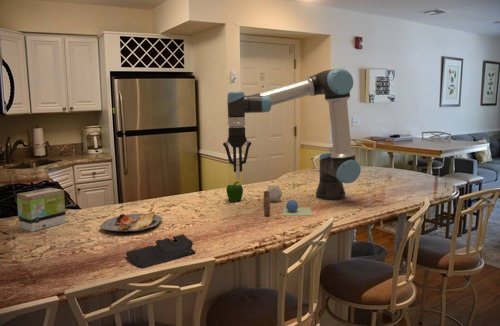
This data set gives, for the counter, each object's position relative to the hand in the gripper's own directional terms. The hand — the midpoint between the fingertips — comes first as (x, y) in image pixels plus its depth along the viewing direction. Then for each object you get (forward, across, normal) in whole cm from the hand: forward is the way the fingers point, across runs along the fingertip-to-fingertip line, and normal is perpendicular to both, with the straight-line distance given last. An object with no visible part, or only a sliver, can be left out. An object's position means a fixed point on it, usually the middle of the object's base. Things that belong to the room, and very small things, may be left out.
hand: (238, 178), depth 182 cm
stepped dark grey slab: (+16, -24, -50) cm, 58 cm away
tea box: (+15, -81, -18) cm, 85 cm away
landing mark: (+16, +27, 0) cm, 31 cm away
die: (+16, +17, +20) cm, 30 cm away
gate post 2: (+16, +13, -6) cm, 21 cm away
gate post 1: (+16, +13, +6) cm, 21 cm away
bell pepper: (+16, -3, +21) cm, 26 cm away
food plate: (+16, -43, -19) cm, 50 cm away
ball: (+13, +24, 0) cm, 28 cm away
